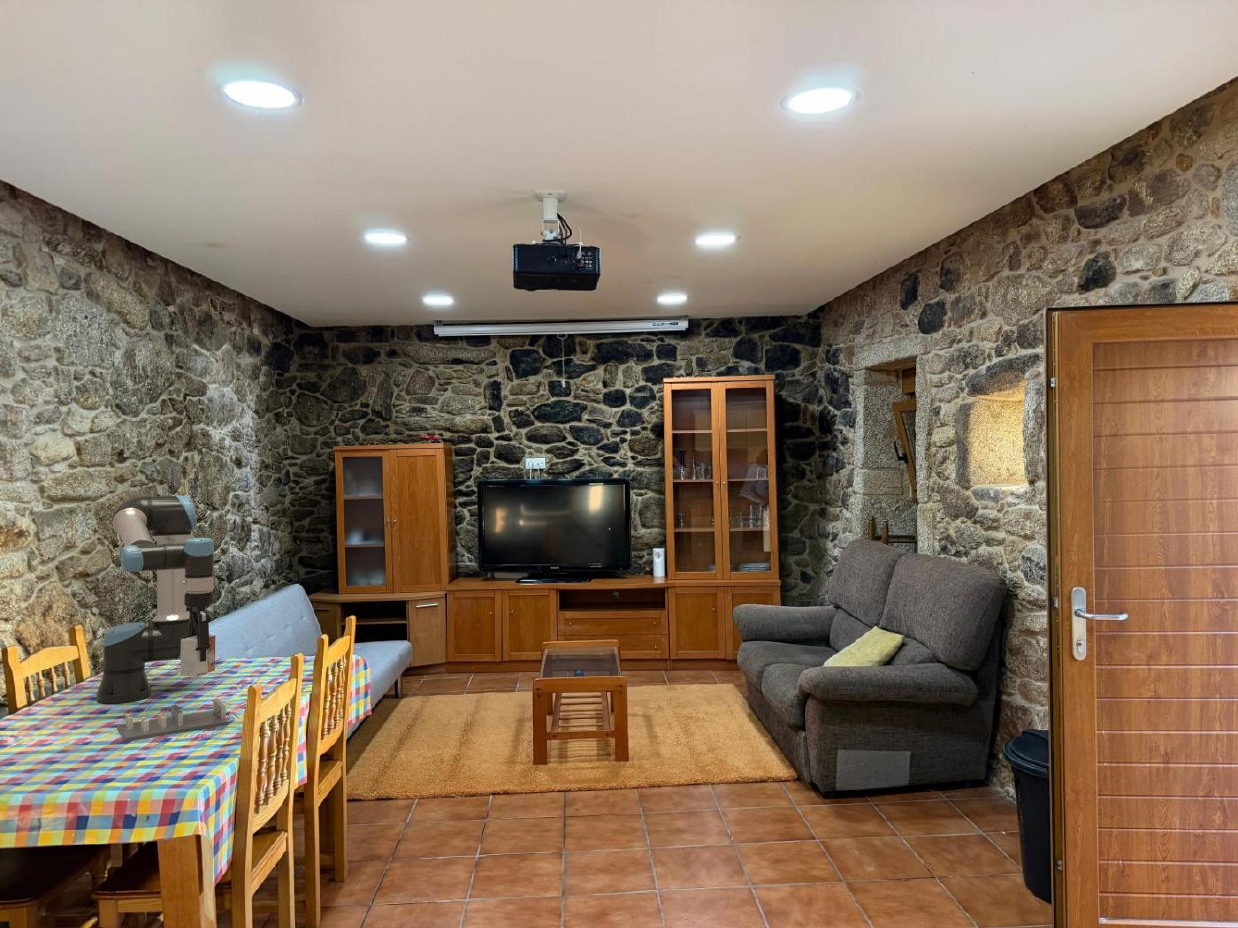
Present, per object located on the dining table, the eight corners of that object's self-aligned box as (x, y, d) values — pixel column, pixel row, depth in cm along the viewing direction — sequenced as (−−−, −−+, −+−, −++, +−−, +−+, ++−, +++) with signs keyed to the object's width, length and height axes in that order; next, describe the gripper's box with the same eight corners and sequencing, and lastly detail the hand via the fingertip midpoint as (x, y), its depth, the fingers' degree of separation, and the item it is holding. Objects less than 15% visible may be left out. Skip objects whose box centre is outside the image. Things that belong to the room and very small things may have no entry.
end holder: (171, 719, 248) (171, 705, 248) (217, 712, 256) (217, 698, 256) (178, 727, 240) (178, 713, 240) (225, 719, 248) (225, 705, 248)
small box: (196, 677, 244) (197, 640, 244) (179, 675, 245) (180, 639, 245) (215, 670, 252) (216, 634, 252) (199, 669, 253) (199, 633, 253)
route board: (116, 728, 243) (117, 714, 243) (216, 713, 258) (216, 699, 258) (124, 741, 231) (124, 726, 231) (228, 724, 246) (228, 710, 247)
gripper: (177, 588, 255) (176, 664, 255) (192, 597, 238) (192, 678, 237) (204, 586, 260) (204, 661, 259) (221, 594, 242) (221, 674, 242)
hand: (198, 669), depth 248 cm, fingers closed on small box, 9 cm apart
